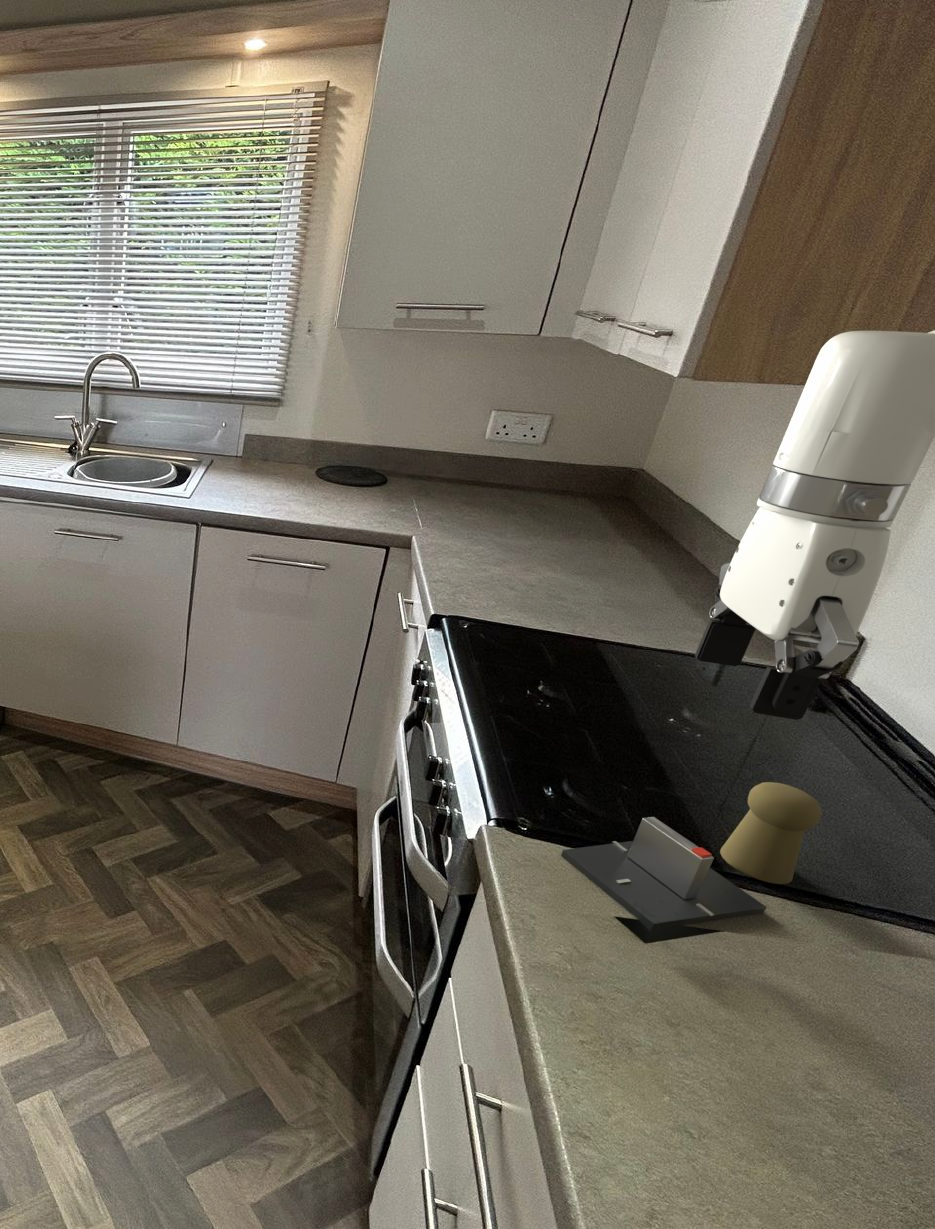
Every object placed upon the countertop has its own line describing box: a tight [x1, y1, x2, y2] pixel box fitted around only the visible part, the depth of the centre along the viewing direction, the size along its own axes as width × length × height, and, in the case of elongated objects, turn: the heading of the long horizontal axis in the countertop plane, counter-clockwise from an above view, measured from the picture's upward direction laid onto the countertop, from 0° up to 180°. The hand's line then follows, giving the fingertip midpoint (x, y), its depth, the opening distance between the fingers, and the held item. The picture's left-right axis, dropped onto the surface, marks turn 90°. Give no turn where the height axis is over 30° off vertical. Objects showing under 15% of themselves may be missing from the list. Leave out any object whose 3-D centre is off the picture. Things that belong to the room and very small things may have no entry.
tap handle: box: [627, 816, 715, 899], centre depth 75 cm, size 6×1×5 cm, turn 10°
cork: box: [719, 781, 822, 885], centre depth 78 cm, size 6×6×11 cm
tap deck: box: [560, 840, 767, 944], centre depth 76 cm, size 13×10×3 cm
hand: (743, 686), depth 65 cm, fingers open, 9 cm apart
